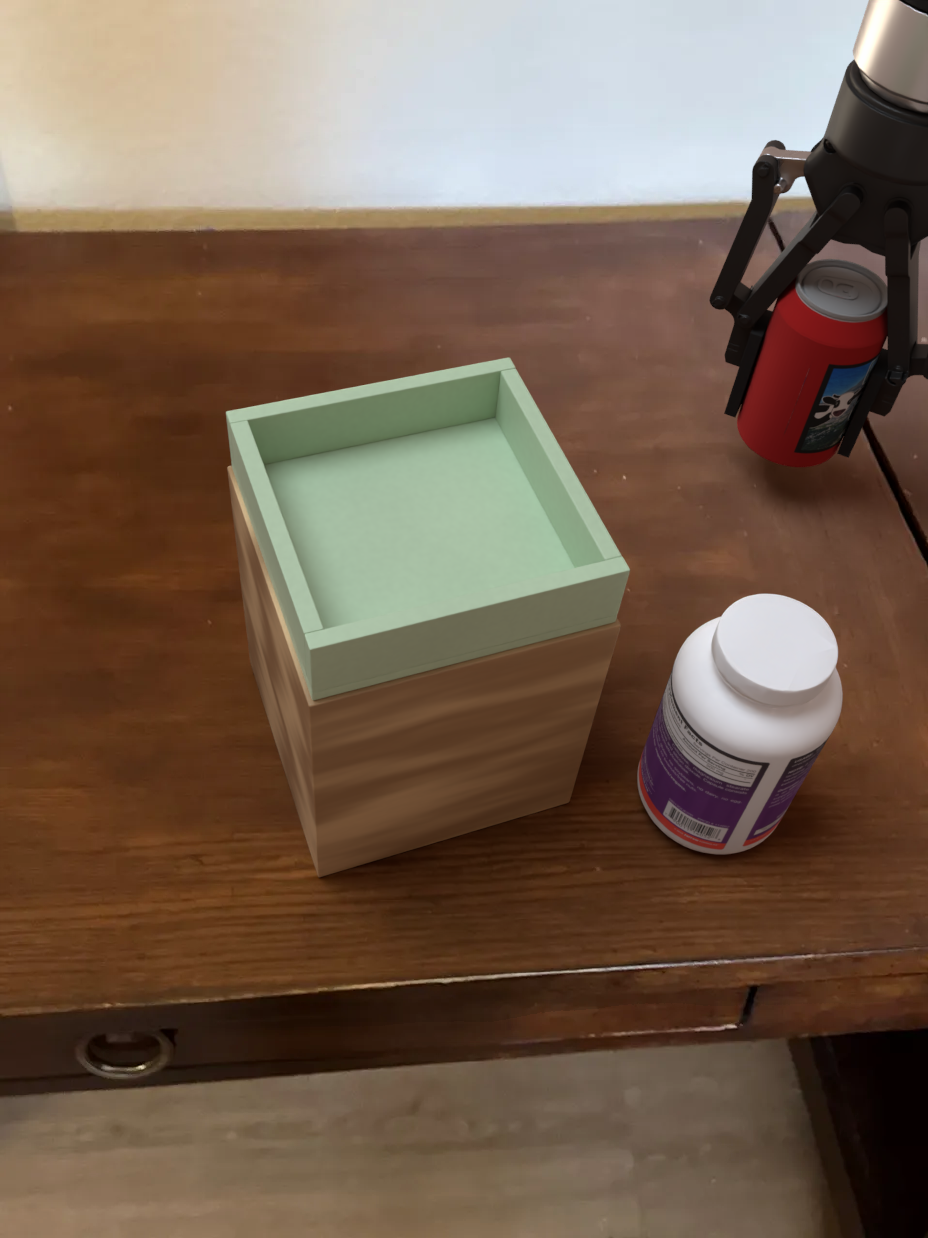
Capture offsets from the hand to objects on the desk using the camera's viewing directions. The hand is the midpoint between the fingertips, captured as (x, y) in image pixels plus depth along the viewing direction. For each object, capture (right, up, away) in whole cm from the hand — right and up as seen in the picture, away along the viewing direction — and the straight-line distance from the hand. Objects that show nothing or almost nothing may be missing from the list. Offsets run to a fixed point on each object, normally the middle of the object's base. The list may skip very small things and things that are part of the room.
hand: (791, 422), depth 78 cm
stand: (-24, -19, -10) cm, 32 cm away
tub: (-23, -9, -23) cm, 34 cm away
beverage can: (0, -1, +1) cm, 2 cm away
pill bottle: (-8, -22, -11) cm, 26 cm away
